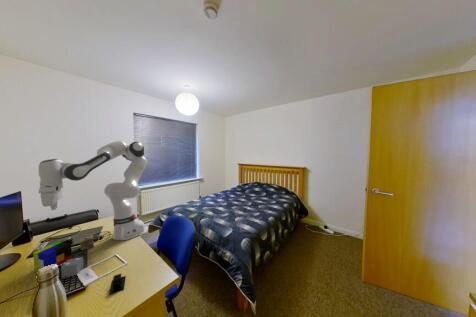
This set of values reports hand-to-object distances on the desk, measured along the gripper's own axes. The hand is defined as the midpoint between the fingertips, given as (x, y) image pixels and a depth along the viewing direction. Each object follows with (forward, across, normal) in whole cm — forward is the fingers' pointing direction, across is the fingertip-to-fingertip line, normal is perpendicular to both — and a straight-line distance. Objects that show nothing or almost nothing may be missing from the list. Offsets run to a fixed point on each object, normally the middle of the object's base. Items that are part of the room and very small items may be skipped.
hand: (54, 209), depth 98 cm
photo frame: (+28, +33, +23) cm, 49 cm away
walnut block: (+28, +2, +13) cm, 31 cm away
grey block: (+28, +28, +11) cm, 41 cm away
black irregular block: (+28, +51, +29) cm, 65 cm away
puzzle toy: (+28, +14, +1) cm, 31 cm away
